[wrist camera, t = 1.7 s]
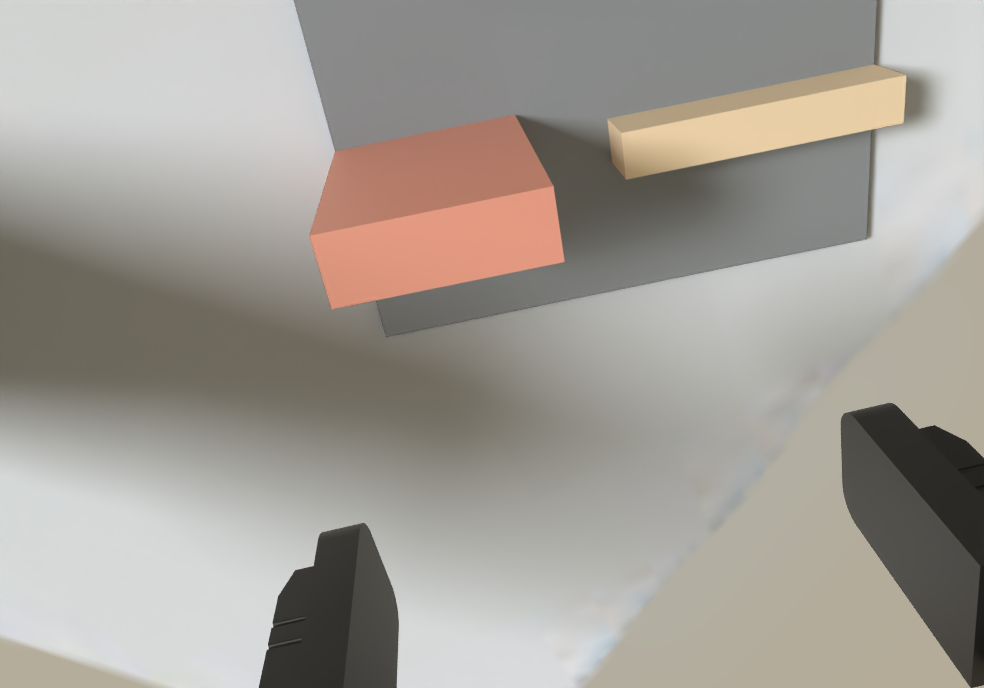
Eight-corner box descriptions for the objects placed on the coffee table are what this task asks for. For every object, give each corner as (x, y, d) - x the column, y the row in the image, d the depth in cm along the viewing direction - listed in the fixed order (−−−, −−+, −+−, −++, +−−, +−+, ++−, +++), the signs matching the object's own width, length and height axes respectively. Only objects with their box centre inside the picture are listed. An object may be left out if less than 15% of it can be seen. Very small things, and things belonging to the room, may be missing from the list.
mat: (386, 331, 30) (384, 363, 28) (271, -87, 24) (258, -88, 22) (861, 235, 30) (895, 259, 28) (878, -212, 24) (924, -224, 22)
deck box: (350, 209, 28) (331, 309, 21) (334, 151, 27) (309, 236, 20) (524, 173, 28) (564, 261, 21) (514, 114, 27) (553, 186, 20)
